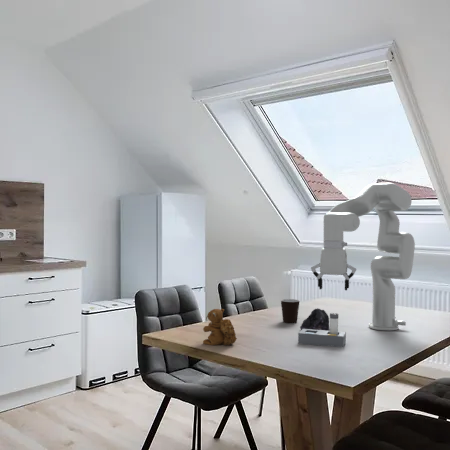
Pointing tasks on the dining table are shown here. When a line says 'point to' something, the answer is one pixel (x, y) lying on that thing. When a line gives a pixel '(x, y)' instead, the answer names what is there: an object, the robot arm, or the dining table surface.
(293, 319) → the coffee mug
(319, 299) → the dining table surface
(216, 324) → the stuffed squirrel
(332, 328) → the plug
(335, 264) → the robot arm
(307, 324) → the black rock
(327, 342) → the socket block
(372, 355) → the dining table surface
